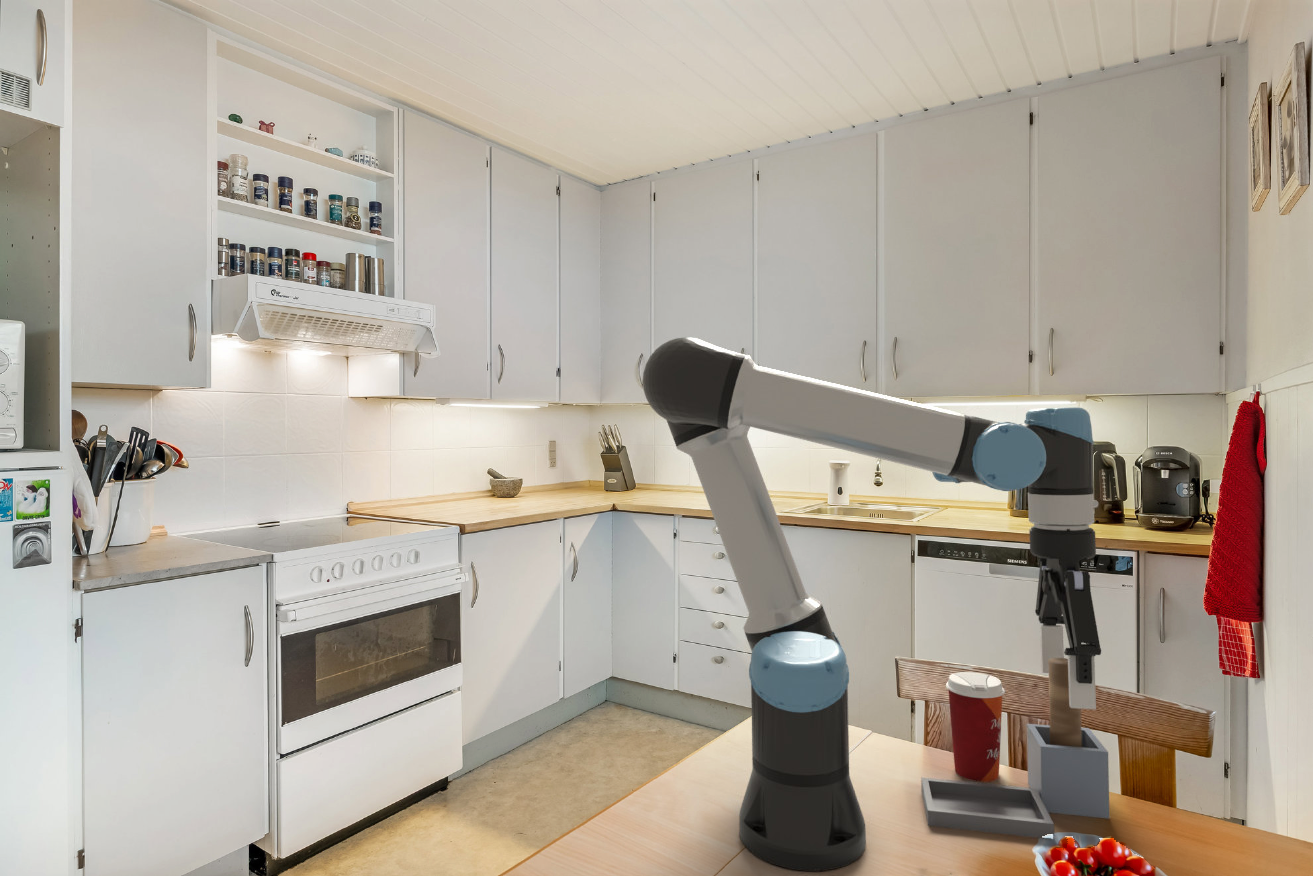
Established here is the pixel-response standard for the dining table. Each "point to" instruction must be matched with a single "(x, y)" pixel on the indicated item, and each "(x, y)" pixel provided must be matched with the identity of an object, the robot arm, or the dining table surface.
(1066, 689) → the dowel
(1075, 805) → the open grey box
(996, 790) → the tray
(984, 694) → the paper cup
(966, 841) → the dining table surface
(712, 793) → the dining table surface
